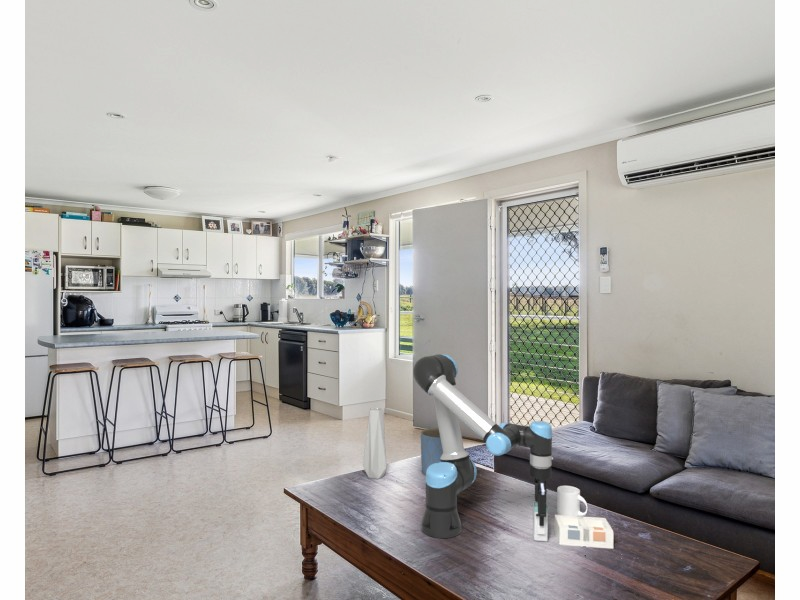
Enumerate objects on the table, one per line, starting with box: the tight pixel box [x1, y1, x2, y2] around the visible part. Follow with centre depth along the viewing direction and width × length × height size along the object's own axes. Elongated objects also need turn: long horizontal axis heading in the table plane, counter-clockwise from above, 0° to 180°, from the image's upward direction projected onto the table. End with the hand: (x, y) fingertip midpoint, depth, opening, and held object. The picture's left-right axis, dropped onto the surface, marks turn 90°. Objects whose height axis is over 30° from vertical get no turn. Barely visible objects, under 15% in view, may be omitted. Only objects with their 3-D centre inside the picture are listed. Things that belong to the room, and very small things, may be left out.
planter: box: [420, 427, 443, 477], centre depth 252 cm, size 19×19×20 cm
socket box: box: [554, 514, 614, 550], centre depth 180 cm, size 18×11×6 cm, turn 82°
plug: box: [532, 501, 549, 542], centre depth 180 cm, size 5×5×12 cm
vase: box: [362, 407, 387, 480], centre depth 245 cm, size 12×12×33 cm
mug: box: [556, 485, 588, 517], centre depth 199 cm, size 9×12×11 cm
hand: (540, 530), depth 180 cm, fingers closed on plug, 4 cm apart
